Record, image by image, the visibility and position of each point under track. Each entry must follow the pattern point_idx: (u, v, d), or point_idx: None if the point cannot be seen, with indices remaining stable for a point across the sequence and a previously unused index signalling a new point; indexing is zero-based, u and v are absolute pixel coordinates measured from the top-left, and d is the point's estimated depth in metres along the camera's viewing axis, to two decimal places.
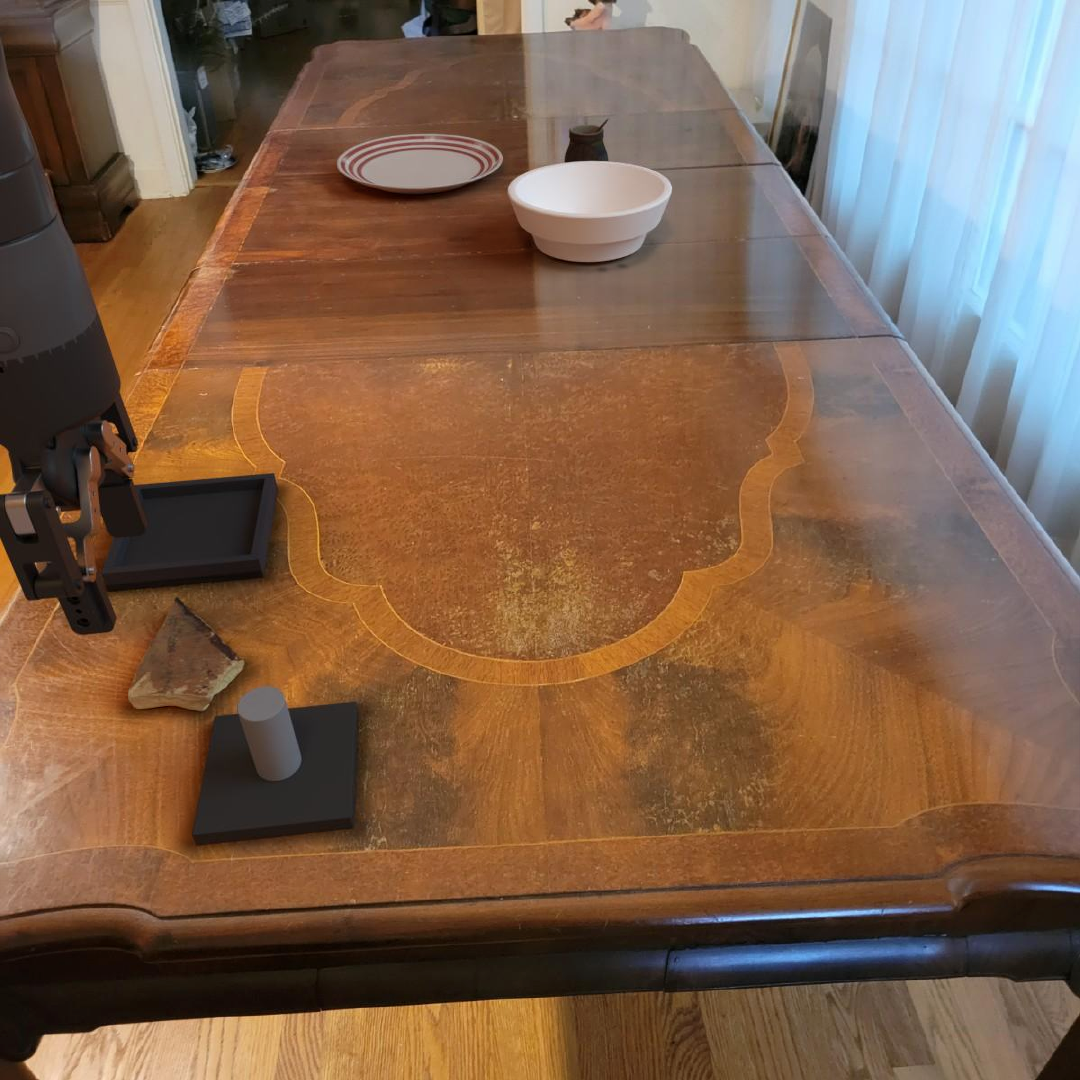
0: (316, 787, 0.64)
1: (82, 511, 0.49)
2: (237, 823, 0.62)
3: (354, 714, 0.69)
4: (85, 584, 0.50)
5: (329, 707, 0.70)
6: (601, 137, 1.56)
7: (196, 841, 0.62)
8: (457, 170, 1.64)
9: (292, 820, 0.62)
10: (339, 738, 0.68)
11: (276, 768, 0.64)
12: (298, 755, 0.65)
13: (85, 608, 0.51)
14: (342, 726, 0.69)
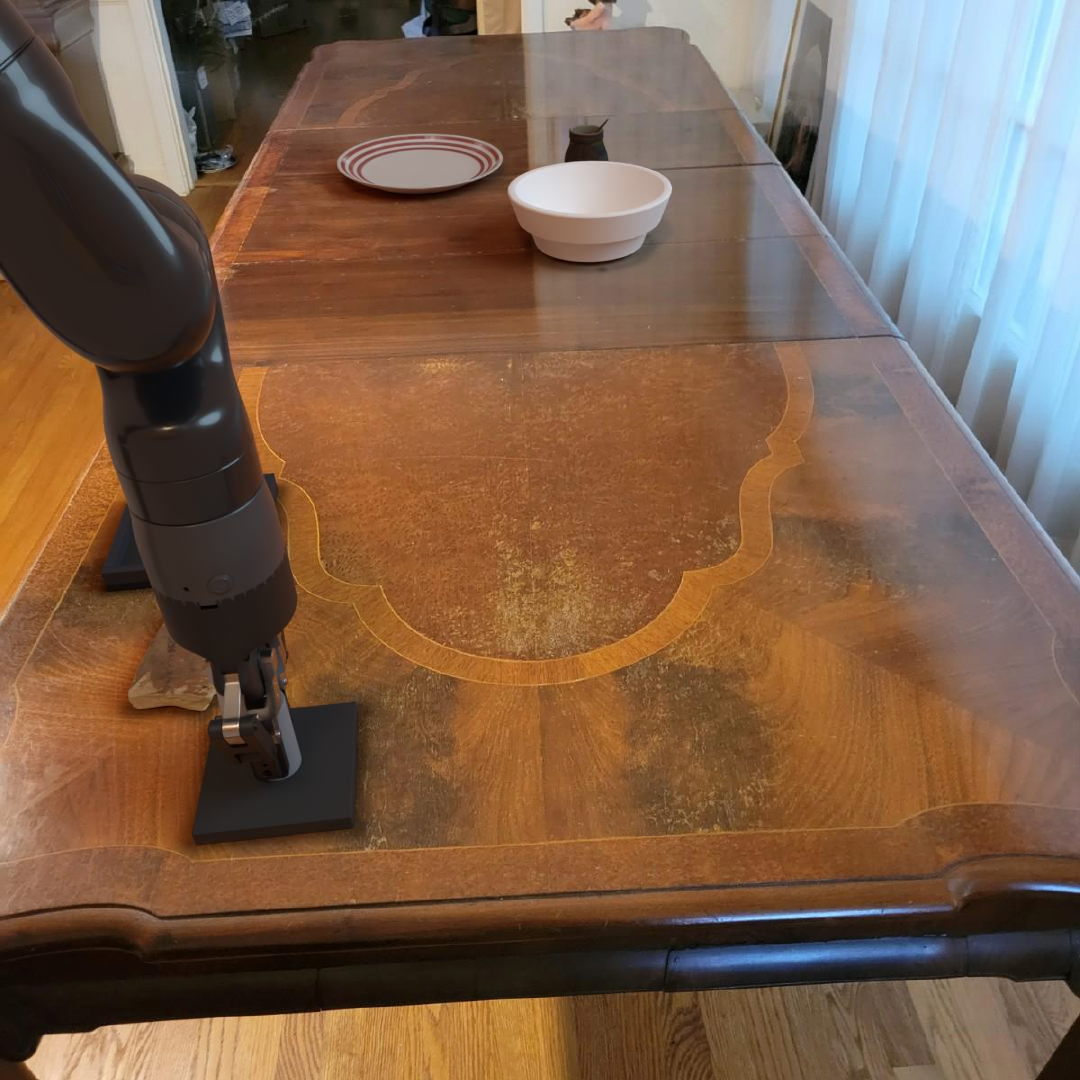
0: (316, 787, 0.64)
1: (269, 700, 0.59)
2: (237, 823, 0.62)
3: (354, 714, 0.69)
4: None
5: (329, 707, 0.70)
6: (601, 137, 1.56)
7: (196, 841, 0.62)
8: (457, 170, 1.64)
9: (292, 820, 0.62)
10: (339, 738, 0.68)
11: None
12: (298, 755, 0.65)
13: (270, 763, 0.62)
14: (343, 726, 0.69)
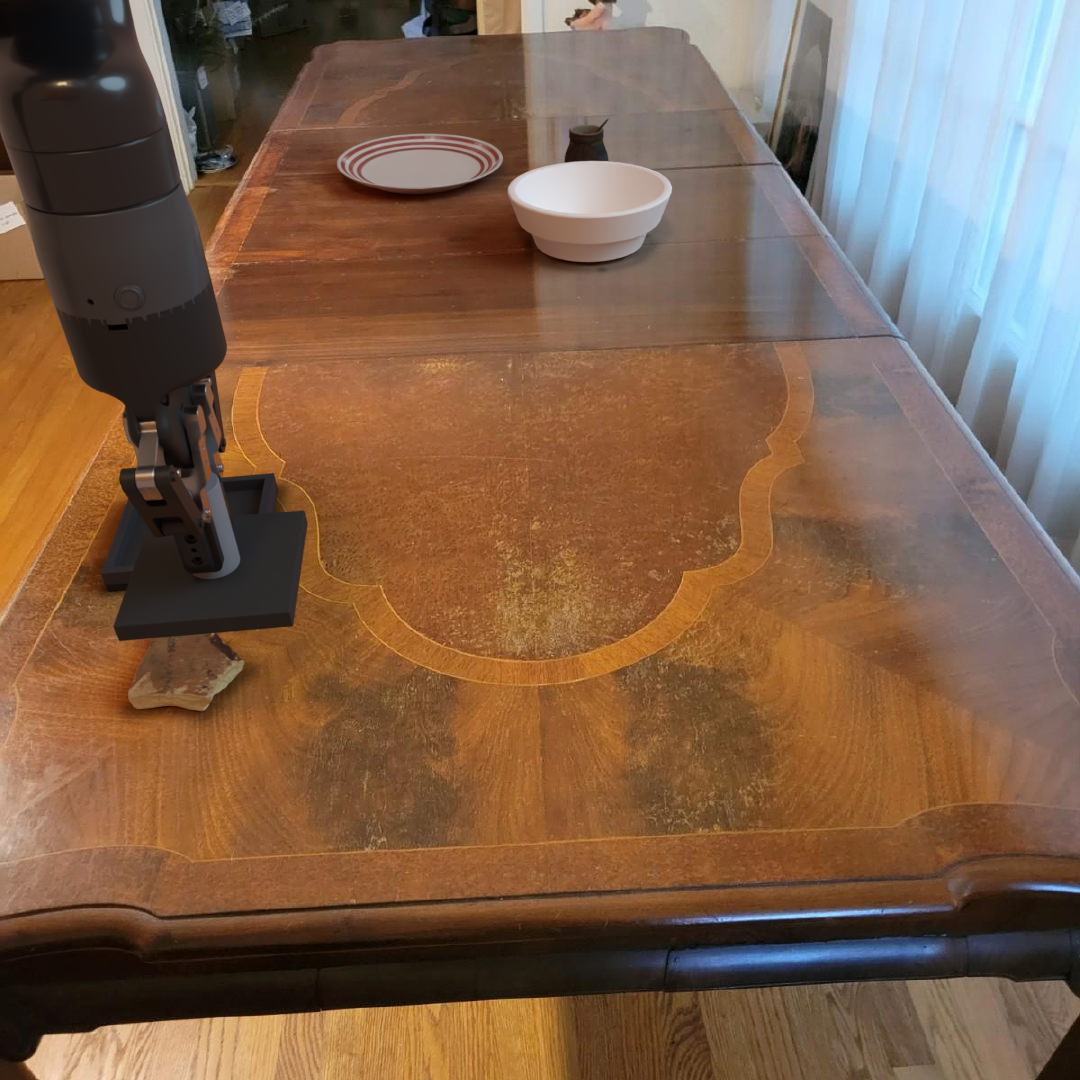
0: (254, 585, 0.58)
1: (196, 467, 0.53)
2: (164, 616, 0.56)
3: (302, 521, 0.63)
4: None
5: (275, 515, 0.64)
6: (601, 137, 1.56)
7: (118, 635, 0.56)
8: (457, 170, 1.64)
9: (225, 614, 0.56)
10: (284, 542, 0.62)
11: None
12: (236, 553, 0.59)
13: (200, 547, 0.56)
14: (288, 532, 0.62)
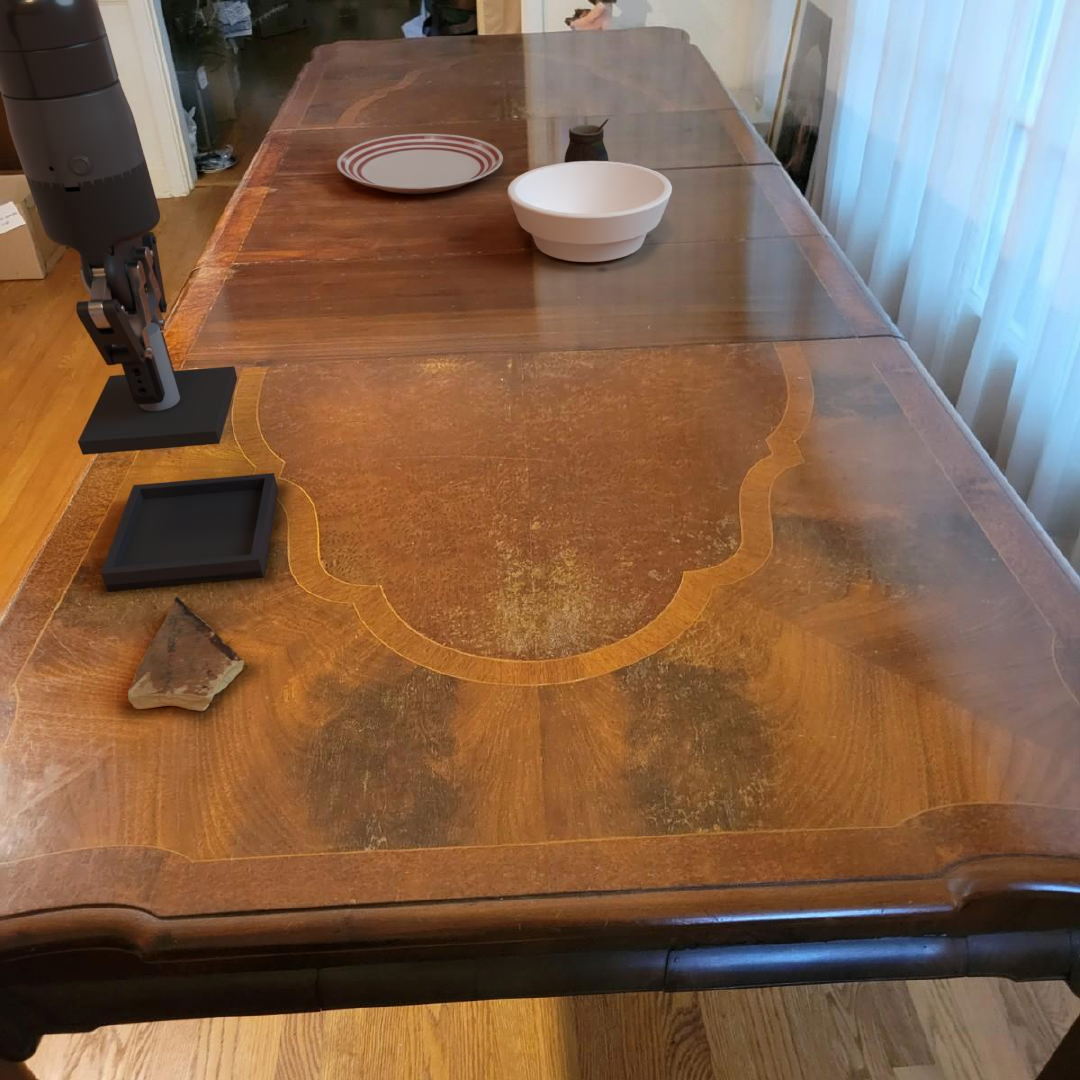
0: (190, 414, 0.74)
1: (138, 311, 0.69)
2: (117, 435, 0.72)
3: (231, 373, 0.79)
4: (144, 360, 0.71)
5: (210, 369, 0.80)
6: (601, 137, 1.56)
7: (82, 449, 0.72)
8: (457, 170, 1.64)
9: (165, 432, 0.72)
10: (215, 387, 0.77)
11: None
12: (176, 391, 0.75)
13: (144, 379, 0.71)
14: (220, 380, 0.78)
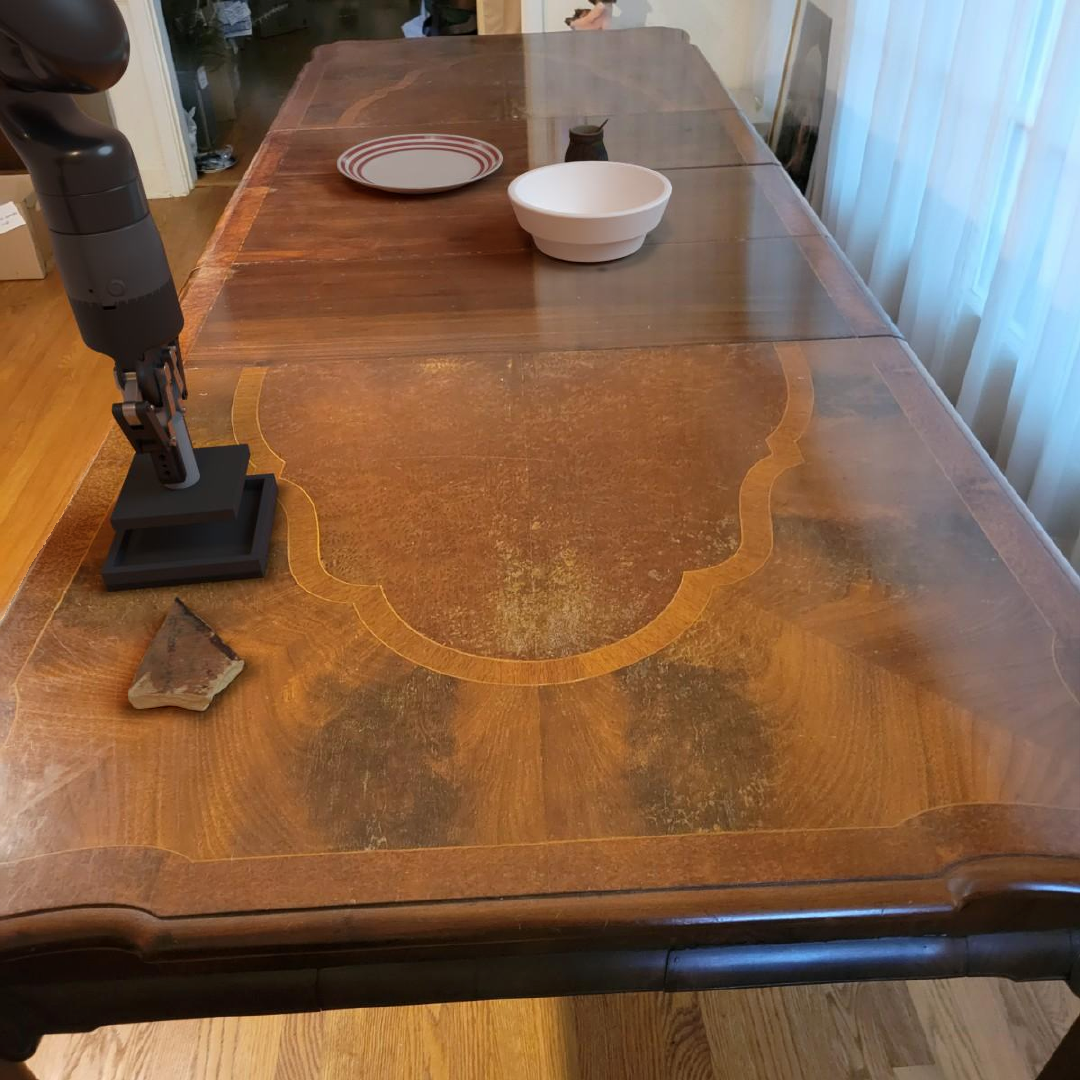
0: (209, 492, 0.82)
1: (164, 405, 0.77)
2: (145, 513, 0.80)
3: (245, 451, 0.87)
4: (169, 447, 0.79)
5: (226, 447, 0.88)
6: (601, 137, 1.56)
7: (113, 526, 0.80)
8: (457, 170, 1.64)
9: (188, 511, 0.80)
10: (231, 464, 0.86)
11: None
12: (196, 471, 0.83)
13: (169, 463, 0.80)
14: (235, 457, 0.86)
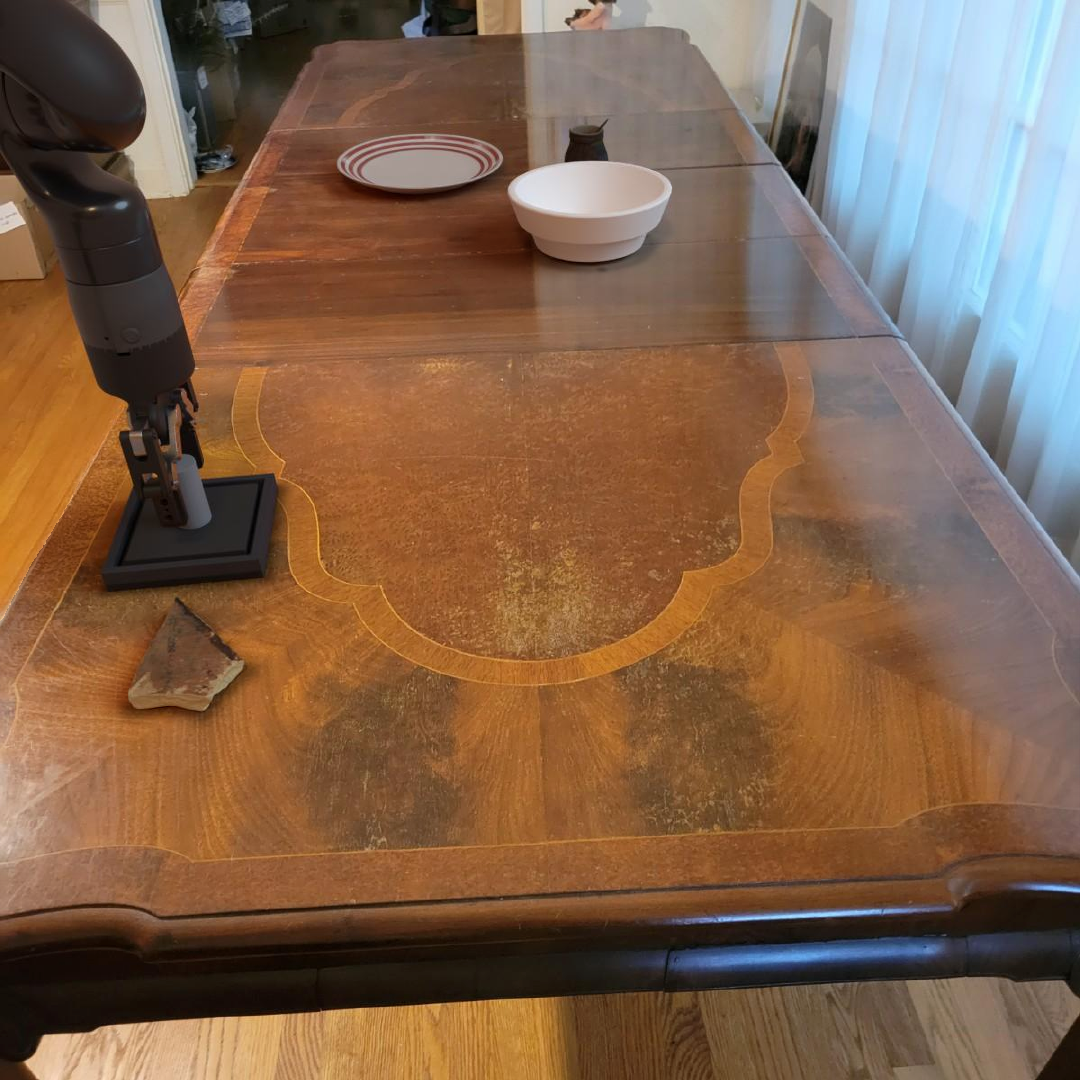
0: (221, 533, 0.85)
1: (171, 444, 0.78)
2: (159, 553, 0.83)
3: (255, 490, 0.90)
4: (171, 492, 0.79)
5: (236, 486, 0.91)
6: (601, 137, 1.56)
7: None
8: (457, 170, 1.64)
9: (200, 551, 0.83)
10: (242, 504, 0.88)
11: (190, 517, 0.85)
12: (208, 511, 0.86)
13: (171, 508, 0.79)
14: (245, 497, 0.89)
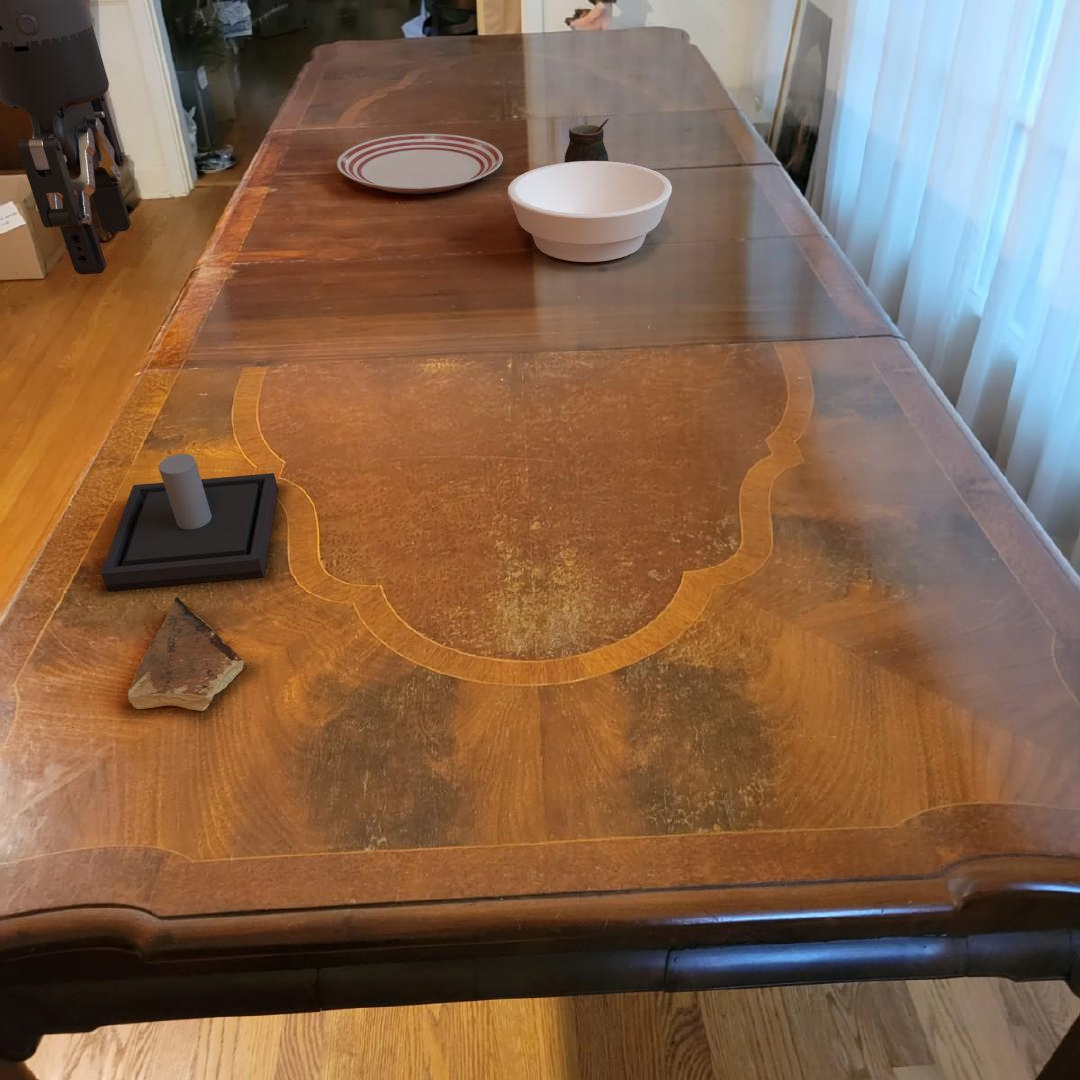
0: (221, 533, 0.85)
1: (81, 171, 0.71)
2: (159, 553, 0.83)
3: (255, 490, 0.90)
4: (83, 227, 0.72)
5: (236, 486, 0.91)
6: (601, 137, 1.56)
7: None
8: (457, 170, 1.64)
9: (200, 551, 0.83)
10: (242, 504, 0.88)
11: (190, 517, 0.85)
12: (208, 511, 0.86)
13: (83, 246, 0.72)
14: (245, 497, 0.89)
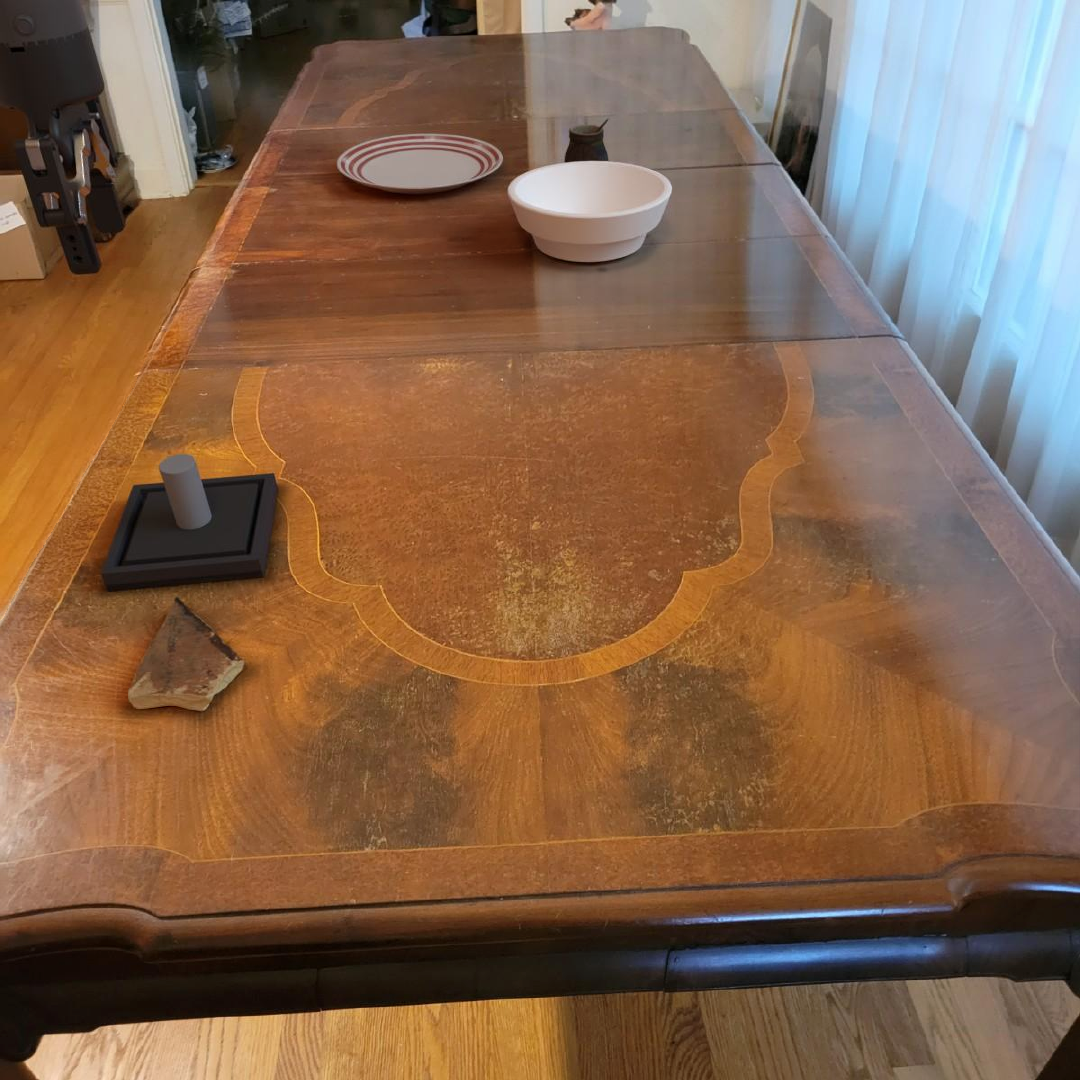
0: (221, 533, 0.85)
1: (77, 172, 0.71)
2: (159, 553, 0.83)
3: (255, 490, 0.90)
4: (79, 227, 0.72)
5: (236, 486, 0.91)
6: (601, 137, 1.56)
7: None
8: (457, 170, 1.64)
9: (200, 551, 0.83)
10: (242, 504, 0.88)
11: (190, 517, 0.85)
12: (208, 511, 0.86)
13: (79, 246, 0.73)
14: (245, 497, 0.89)
